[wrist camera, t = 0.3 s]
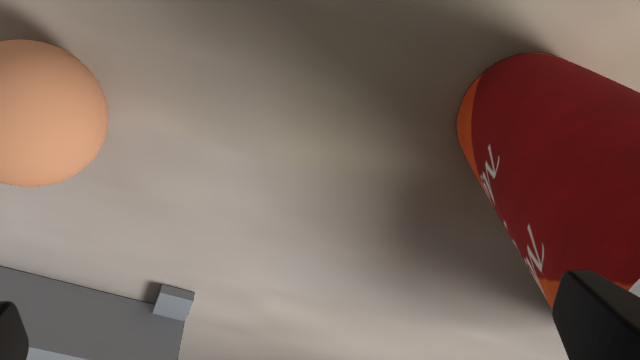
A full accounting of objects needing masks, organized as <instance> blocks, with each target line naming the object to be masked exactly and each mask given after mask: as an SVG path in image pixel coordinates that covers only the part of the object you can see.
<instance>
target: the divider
mask: <svg viewBox="0 0 640 360" xmlns="http://www.w3.org/2000/svg"><path fill="white" fill-rule="evenodd" d="M194 294H195V293H194V292H190V291H186V290H183V289H179V288H175V287H171V286H167V285H164V284H162V287H161V289H160V292H159V294H158V297H157V300H156V302H155V305H153V304H149V303H145V302H141V301H137V300H133V299H129V298H125V297H121V296H117V295H113V294H109V293H105V292H101V291H97V290H93V289H89V288H85V287H81V286H77V285H73V284H69V283H65V282H61V281H57V280H53V279H49V278H45V277H41V276H37V275H33V274H29V273H25V272H21V271H17V270H13V269H9V268H5V267H1V266H0V301H12V302H13V303H14V304H15V305H16V306H17V308H18V311H19V314H20V316H21V319H22V322H23V324H24V327H25V330H26V332H27V335H28V339H29V351H28V355H27V359H26V360H178V355H179V350H180V344H181V339H182V333H183V328H184V322H185V319H186V317H187V315H188V312H189V310H190V308H191V305H192V303H193V300H194Z"/></svg>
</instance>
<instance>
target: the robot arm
mask: <svg viewBox="0 0 640 360" xmlns="http://www.w3.org/2000/svg"><path fill="white" fill-rule="evenodd" d="M552 315H553V319H554V322H555V325H556V327H557V330H558V333H559V335H560V338H561V340H562V343H563V345H564V348H565V350H566V353H567V355H568V358H569V360H640V297H638V296H637V295H635V294H633V293H631V292H629V291H628V290H626V289H624V288H622V287H620V286H619V285H617V284H615V283H613V282H612V281H610V280H608V279H606V278H604V277H603V276H601V275H599V274H597V273H595V272H594V271H591V270H587V269H583V270H568V271H566V272H564V274H563V275H562V277H561V280H560V283H559V286H558V289H557V293H556V296H555V299H554V303H553V307H552ZM28 351H29V339H28V335H27V332H26V330H25V327H24V324H23V322H22V319H21V316H20V314H19V311H18V308H17V306H16V305H15V304H14V303H13V302H12V301H0V360H26V359H27V355H28Z"/></svg>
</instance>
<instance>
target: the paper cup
mask: <svg viewBox="0 0 640 360" xmlns="http://www.w3.org/2000/svg"><path fill="white" fill-rule="evenodd" d="M457 135H458V139H459V142H460V145H461V148H462V150H463V152H464V154H465V156H466V158H467V160H468V162H469V164H470V166H471V168H472V170H473V172H474V173H475V175H476V177H477V179H478V181H479V182H480V184H481V186H482V188H483V189H484V191H485V193H486V195H487V197H488V198H489V200H490V202H491V204H492V205H493V207H494V209H495V211H496V212H497V214H498V216H499V218H500V220H501V221H502V223H503V225H504V227H505V228H506V230H507V232H508V234H509V235H510V237H511V239H512V241H513V242H514V244H515V246H516V248H517V249H518V251H519V253H520V255H521V256H522V258H523V260H524V262H525V263H526V265H527V267H528V269H529V270H530V272H531V274H532V275H533V277H534V279H535V281H536V282H537V284H538V286H539V288H540V289H541V291H542V293H543V295H544V296H545V298H546V300H547V302H548V303H549V305H550V307H551V309H552V307H553V303H554V299H555V296H556V293H557V289H558V286H559V283H560V280H561V277H562V275H563V274H564V272H566V271H568V270H583V269H587V270H591V271H594V272H595V273H597V274H599V275H601V276H603V277H604V278H606V279H608V280H610V281H612V282H613V283H615V284H617V285H619V286H620V287H622V288H624V289H626V290H628V291H629V292H631V293H633V294H635V295H637V296H638V297H640V93H639V92H637V91H634V90H632V89H630V88H628V87H626V86H624V85H621V84H619V83H617V82H615V81H613V80H610V79H608V78H606V77H604V76H601V75H599V74H597V73H595V72H593V71H590V70H588V69H586V68H584V67H581V66H579V65H577V64H574V63H572V62H569V61H567V60H565V59H562V58H559V57H556V56H553V55H550V54H545V53H534V52H532V53H522V54H517V55H514V56H511V57H508V58H505V59H503V60H501V61H499V62H497V63H495V64H494V65H492V66H491V67H489V68H488V69H487V70H485V71H484V72H483V73H482V74H481V75H480V76H479V77H478V78H477V79H476V80H475V81H474V82H473V83H472V85H471V86H470V87H469V89H468V90H467V92H466V94H465V96H464V97H463V100H462V102H461V104H460V107H459V111H458V115H457Z"/></svg>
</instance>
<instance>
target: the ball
mask: <svg viewBox="0 0 640 360" xmlns="http://www.w3.org/2000/svg"><path fill="white" fill-rule="evenodd" d="M107 128H108V107H107V103H106V99H105V95H104V93H103V90H102V88H101V86H100V84H99V82H98V81H97V79H96V78H95V76H94V75H93V74H92V72H91V71H90V70H89V69H88V68H87V67H86V66H85V65H84V64H83V63H82V62H81V61H80V60H78V59H77V58H76V57H74V56H73V55H71V54H70V53H68V52H66V51H64V50H63V49H60V48H58V47H56V46H54V45H50V44H47V43H44V42H39V41H34V40H24V39H16V40H6V41H0V183H4V184H8V185H13V186H20V187H40V186H46V185H51V184H55V183H58V182H61V181H64V180H66V179H68V178H70V177H72V176H74V175H75V174H77V173H78V172H80V171H81V170H83V169H84V168H85V167H86V166H87V165H88V164H89V163H90V162H91V161H92V160H93V159H94V157H95V156H96V155H97V154H98V152H99V150H100V148H101V147H102V144H103V142H104V139H105V137H106V133H107Z"/></svg>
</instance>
